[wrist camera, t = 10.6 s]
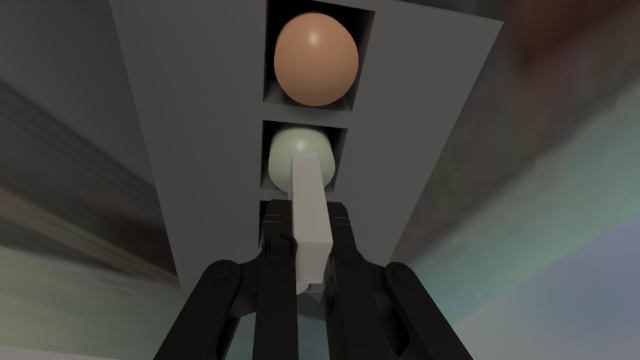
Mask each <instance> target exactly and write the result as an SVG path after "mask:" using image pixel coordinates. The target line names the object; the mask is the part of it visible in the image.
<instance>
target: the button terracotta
mask: <svg viewBox="0 0 640 360" xmlns="http://www.w3.org/2000/svg"><path fill="white" fill-rule="evenodd" d="M274 68H275V74H276V77H277V80H278V82H279V84H280V86H281V87H282V89H283V90H284V91H285V93H286V94H287V95H288V96H290V97H291V98H292V99H294V100H295V101H297V102H299V103H301V104H304V105H309V106H322V105H327V104H330V103H332V102H334V101H336V100H338V99H339V98H341V97H342V96H343V95H344V94H345V93H346V92H347V91H348V90H349V88H350V87H351V85H352V84H353V82H354V79H355V77H356V74H357V70H358V52H357V48H356V45H355V42H354V40H353V38H352V37H351V35H350V34H349V32H348V31H347V30H346V29H345V28H344V27H343V26H342V25H341V24H340V23H339V22H338V21H337V20H336V19H335V18H334V17H332V16H331V15H330V14H328V13H327V12H325V11H322V10H319V9H313V8H309V9H303V10H300V11H297V12H295V13H294V14H292V15H291V16H290V17H289V18H288V19H287V20H286V21H285V22H284V23H283V25H282V27H281V29H280V31H279V33H278V37H277V43H276V49H275V56H274Z"/></svg>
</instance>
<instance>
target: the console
mask: <svg viewBox="0 0 640 360" xmlns="http://www.w3.org/2000/svg"><path fill="white" fill-rule="evenodd" d="M315 1H321V2H326V3H332V4H338V5H343V6H349V7H354V8H357V12H356V17H355V22H354V27H353V32H352V38H353V40H354V42H355V45H356V48H357V52H358V70H357V74H356V77H355V79H354V82H353V84H352V85H351V87H350V88H349V90H348V91H347V92H346V93H345V94H344V95H343V96H342V97H341V98H339V99H338V100H336V101H334V102H332V103H330V104H327V105H322V106H309V105H304V104H301V103H299V102H297V101H295V100H294V99H292V98H291V97H290V96H288V95H287V94H286V93H285V91H284V90H283V89H282V87H281V86H280V84H279V82H278V81H273V80H267V73H268V48H269V24H270V0H109V3H110V7H111V11H112V15H113V19H114V23H115V27H116V31H117V35H118V39H119V43H120V47H121V51H122V55H123V59H124V63H125V67H126V71H127V75H128V79H129V83H130V87H131V91H132V95H133V99H134V103H135V107H136V111H137V115H138V119H139V123H140V127H141V131H142V135H143V139H144V143H145V147H146V151H147V155H148V159H149V163H150V167H151V171H152V175H153V179H154V183H155V187H156V191H157V195H158V199H159V203H160V207H161V210H162V214H163V218H164V222H165V226H166V230H167V234H168V238H169V242H170V246H171V250H172V254H173V258H174V262H175V266H176V270H177V274H178V278H179V282H180V286H181V290H182V293H192V291H193V290H194V288H195V286H196V284H197V283H198V281H199V279H200V277H201V276H202V274H203V272H204V271H205V269H206V268H207V267H208V266H209V265H210V264H212V263H214V262H215V261H219V260H223V259H224V260H231V261H234V262H236V263H237V264H241V263H245V262H248V261H250V260H253V259H254V258H256V257H257V256H258V255H259V254H260V252H261V251H262V243H263V239H264V228H265V217H266V213H262V200H263V201H270V200H271V199H281V200H288V193H287V192H285V191H283V190H281V189H279V188H278V187H277V186H276V185H275V184H274V183H273V181H272V180H271V178H270V175H269V171H268V166H269V157H264V147H265V122H266V120H270V121H279V122H289V123H299V124H309V125H319V126H329V127H333V132H332V137H331V142H330V145H331V149H332V153H333V158H334V162H335V172H334V175H333V178H332V179H331V181H330V182H329V183H328V185H326V186H325V187H324V192H325V198H326V201H328V202H342V204H343V205H344V206H345V207H346V209H347V211H348V215H349V219H350V223H351V224H350V225H351V227H352V231H353V235H354V239H355V243H356V247H357V250H358V251H359V252H360V253H361V254H362V255H363V257H364V259H366V260H367V261H369V262H371V263H374V264H377V265H380V266H383V267H386V266H387V264H388V262H389V260H390V258H391V256H392V254H393V252H394V249H395V247H396V245H397V243H398V241H399V239H400V237H401V235H402V233H403V231H404V229H405V227H406V224H407V222H408V220H409V218H410V216H411V214H412V212H413V210H414V208H415V206H416V204H417V202H418V199H419V197H420V195H421V193H422V191H423V189H424V187H425V185H426V183H427V181H428V179H429V177H430V174H431V172H432V170H433V168H434V166H435V164H436V162H437V160H438V158H439V156H440V154H441V152H442V150H443V147H444V145H445V143H446V141H447V139H448V137H449V135H450V133H451V131H452V129H453V127H454V125H455V122H456V120H457V118H458V116H459V114H460V112H461V110H462V108H463V106H464V104H465V102H466V100H467V97H468V95H469V93H470V91H471V89H472V87H473V85H474V83H475V81H476V79H477V77H478V75H479V72H480V70H481V68H482V66H483V64H484V62H485V60H486V58H487V56H488V54H489V52H490V50H491V47H492V45H493V43H494V41H495V39H496V37H497V35H498V33H499V31H500V29H501V27H502V25H503V23H504V22H502V21H497V20H493V19H488V18H484V17H479V16H475V15H471V14H466V13H462V12H456V11H451V10H446V9H440V8H435V7H430V6H424V5H419V4H414V3H408V2H403V1H398V0H315ZM324 288H325V283H324V278H323V281H322V284H319V283H309V286H308V288H307V289H306V290H305V291H304V292H302V293H323V291H324Z"/></svg>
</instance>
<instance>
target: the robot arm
mask: <svg viewBox="0 0 640 360" xmlns="http://www.w3.org/2000/svg"><path fill="white" fill-rule="evenodd" d="M350 224H351V223H350V219H349V215H348V211H347V209H346V207H345V206H344V205H343V204H342V202H328V201H326V198H325V192H324V186H323V180H322V174H321V168H320V162H319V156H318V154H314V153H302V152H292V157H291V166H290V175H289V185H288V200H281V199H271V200H270V202H269V203H268V204H267V206H266V217H265V228H264V239H263V243H262V251H261V252H260V254H259V255H258V256H257V257H256V258H254V259H253V260H250V261H248V262H245V263H241V264H237V263H236V262H234V261H231V260H224V259H223V260H219V261H215V262H214V263H212V264H210V265H209V266H208V267H207V268H206V269H205V271H204V272H203V274H202V276H201V277H200V279H199V281H198V283H197V284H196V286H195V288H194V290H193V291H192V293H191V295H190V297H189V298H188V300H187V302H186V303H185V305H184V307H183V309H182V310H181V312H180V314H179V316H178V317H177V319H176V321H175V322H174V324H173V326H172V328H171V329H170V331H169V333H168V335H167V336H166V338H165V340H164V342H163V343H162V345H161V347H160V348H159V350H158V352H157V354H156V355H155V357H154V359H153V360H225V357H226V355H227V352H228V350H229V347H230V344H231V342H232V339H233V337H234V334H235V331H236V329H237V326H238V324H239V321H240V318H241V317H242V316H245V315H248V314H250V313H253V312H256V311H257V312H256V323H255V334H254V346H253V357H252V360H299V357H298V325H297V292H296V283H319V284H322V281H323V278H324V283H325V288H324V291H323V295H322V298H321V304H320V305H323V303H324V309H325V318H326V327H327V337H328V346H329V356H330V360H473V358H472V357H471V355H470V354H469V352H468V351H467V349H466V348H465V347H464V345H463V344H462V342H461V341H460V339H459V338H458V336H457V335H456V333H455V332H454V331H453V329H452V327H451V326H450V324H449V323H448V322H447V320H446V319H445V317H444V316H443V314H442V313H441V311H440V310H439V308H438V307H437V305H436V304H435V302H434V301H433V299H432V298H431V296H430V295H429V294H428V292H427V291H426V289H425V288H424V286H423V285H422V283H421V282H420V280H419V279H418V277H417V276H416V274H415V273H414V272H413V271H412V270H411V268H410V267H408V266H407V265H405V264H403V263H399V262H391V263H389V264H387V266H386V267H383V266H380V265H377V264H374V263H371V262H369V261H367V260H366V259H364V257H363V255H362V254H361V253H360V252H359V251H358V250H357V247H356V243H355V239H354V235H353V231H352V227H351V225H350Z"/></svg>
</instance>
